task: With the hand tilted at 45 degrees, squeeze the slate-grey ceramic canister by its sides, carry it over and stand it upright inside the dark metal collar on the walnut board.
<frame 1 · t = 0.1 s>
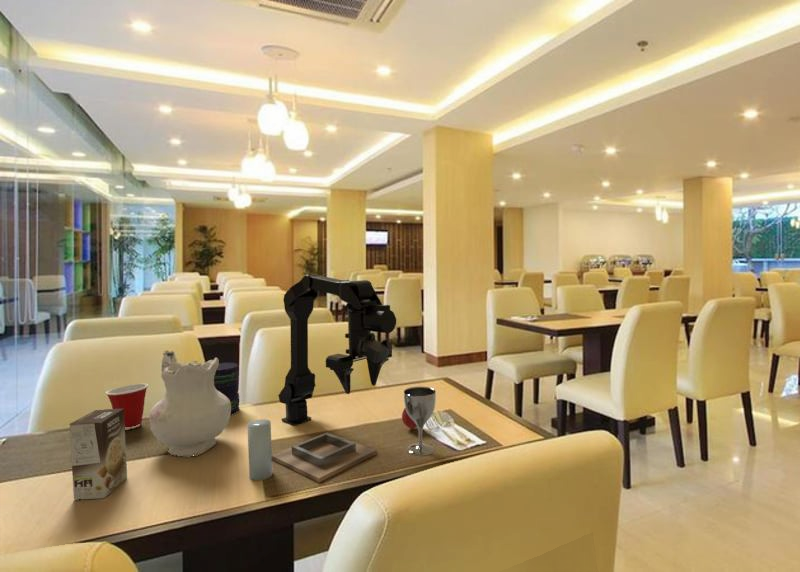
hand: (361, 389, 116), 15 cm above the table, fingers open, 9 cm apart
ceramic pitcher: (189, 446, 118), on the table
coffee box: (102, 489, 97), on the table
storage jar: (223, 412, 145), on the table
plastic cup: (129, 427, 133), on the table
ceramic canister: (261, 475, 102), on the table
collar board: (324, 456, 111), on the table
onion: (412, 429, 127), on the table
wine glass: (420, 450, 114), on the table
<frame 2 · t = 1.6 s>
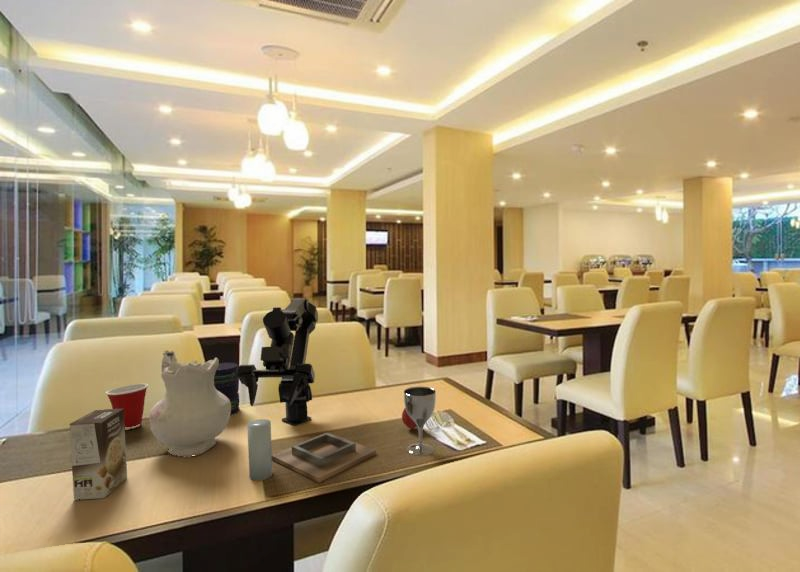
hand: (270, 405, 109), 13 cm above the table, fingers open, 9 cm apart
nothing on the table moved.
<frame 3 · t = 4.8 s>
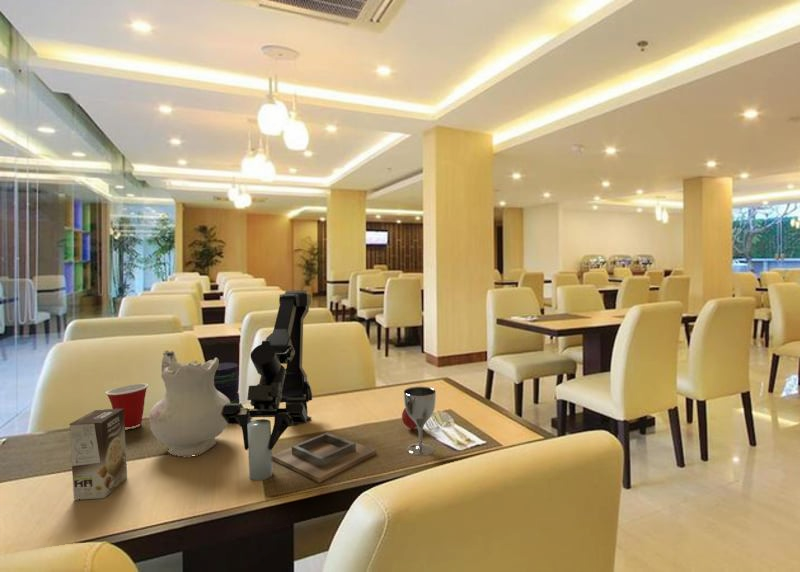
hand: (257, 449, 100), 7 cm above the table, fingers closed on ceramic canister, 5 cm apart
ceramic canister: (261, 475, 102), on the table, touching gripper
everything else where it was.
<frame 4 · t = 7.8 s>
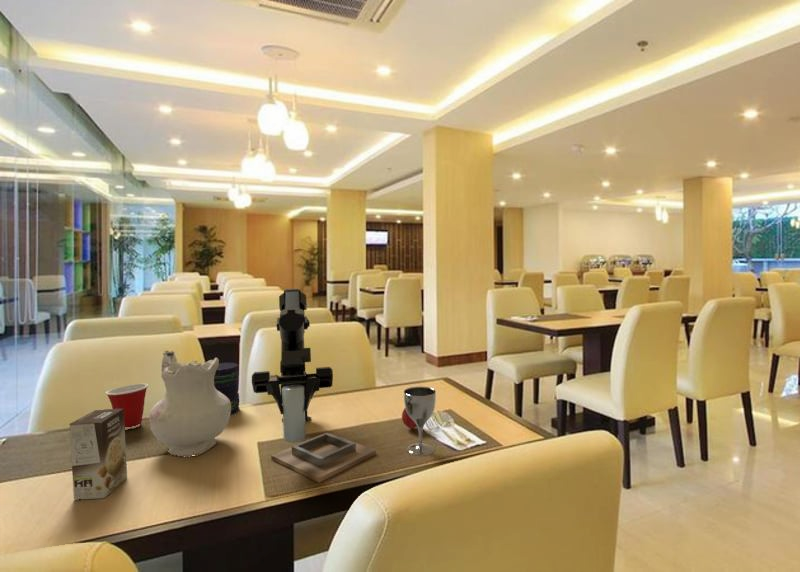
hand: (293, 412, 103), 13 cm above the table, fingers closed on ceramic canister, 5 cm apart
ceramic canister: (294, 438, 105), point 7 cm above the table, touching gripper
everything else where it was.
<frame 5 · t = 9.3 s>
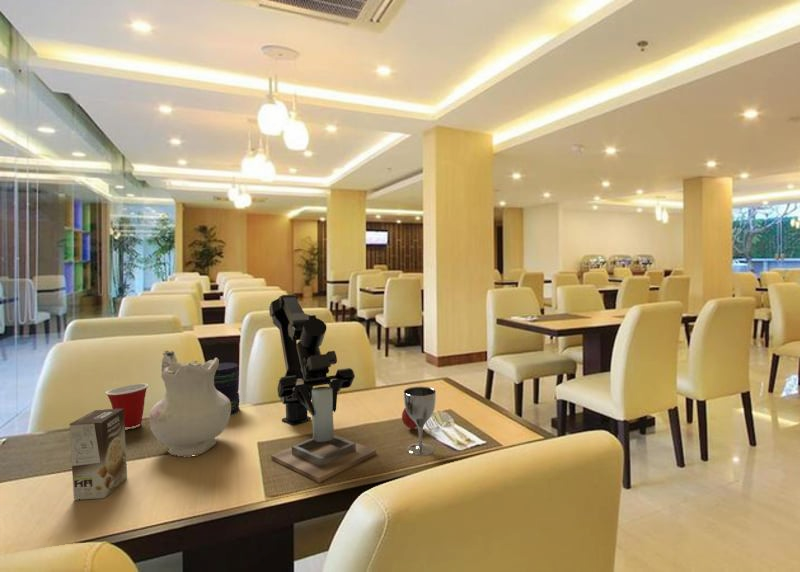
hand: (324, 413, 109), 11 cm above the table, fingers closed on ceramic canister, 5 cm apart
ceramic canister: (323, 437, 110), point 5 cm above the table, touching gripper
everything else where it was.
when the fingers open (8 cm above the table, at t = 10.7 s): ceramic canister stays where it is, resting on collar board.
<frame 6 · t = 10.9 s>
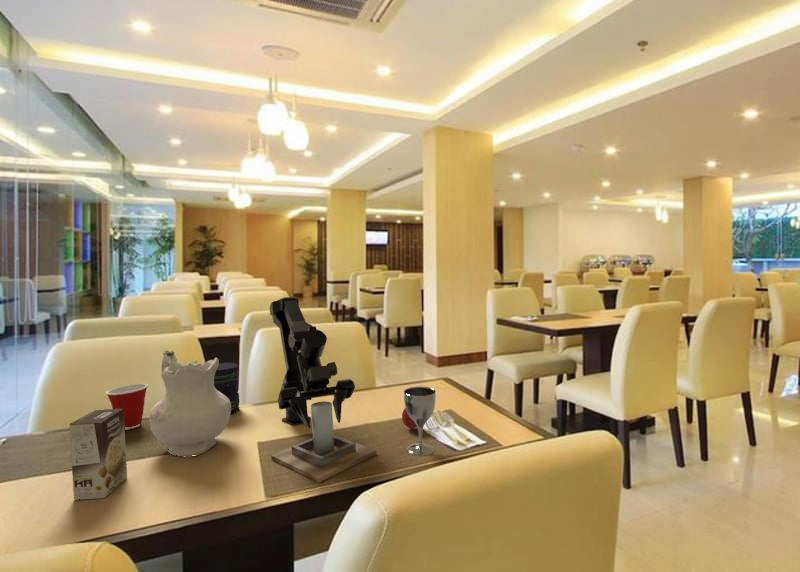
hand: (324, 424, 109), 9 cm above the table, fingers open, 7 cm apart
ceramic canister: (324, 452, 111), point 1 cm above the table, touching collar board
everything else where it was.
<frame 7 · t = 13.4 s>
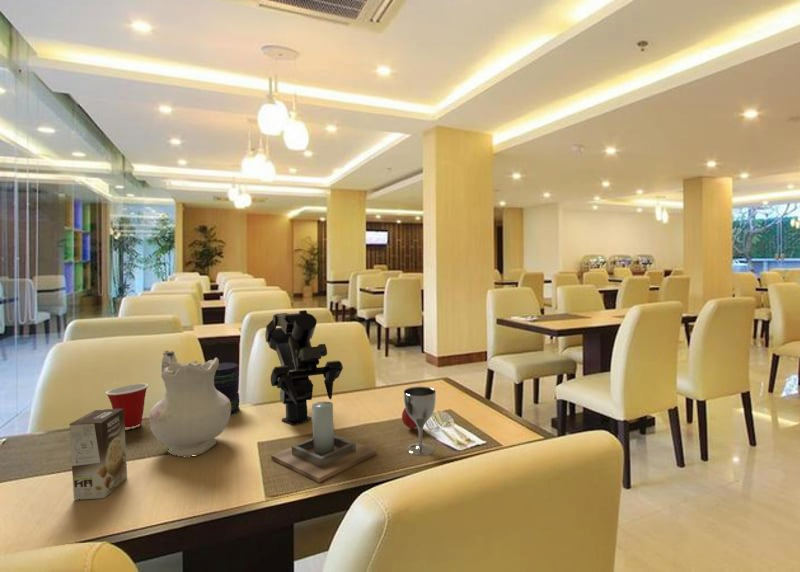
hand: (313, 401, 117), 12 cm above the table, fingers open, 9 cm apart
nothing on the table moved.
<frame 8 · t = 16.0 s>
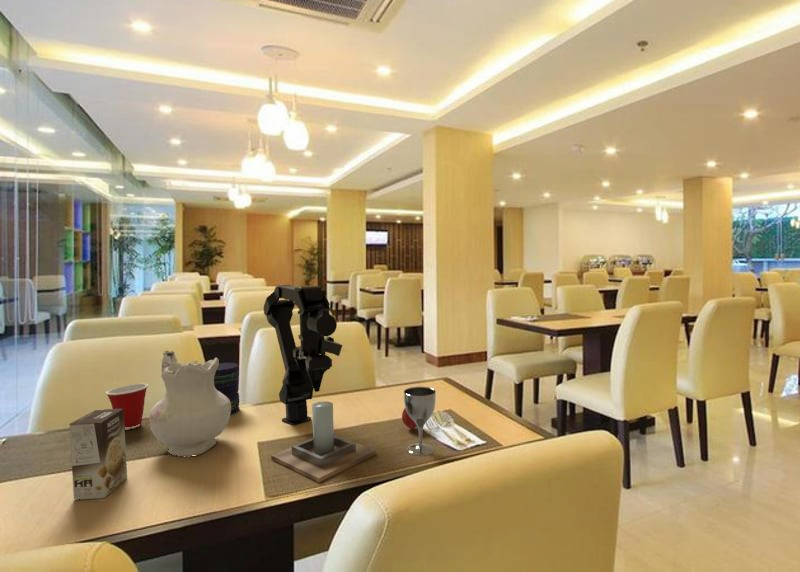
hand: (312, 387, 125), 13 cm above the table, fingers open, 9 cm apart
nothing on the table moved.
at the end: ceramic canister 0.1 cm off-centre on the collar board, point 1.0 cm above the collar board's base; ceramic canister tilted 0°; the gripper is holding nothing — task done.
